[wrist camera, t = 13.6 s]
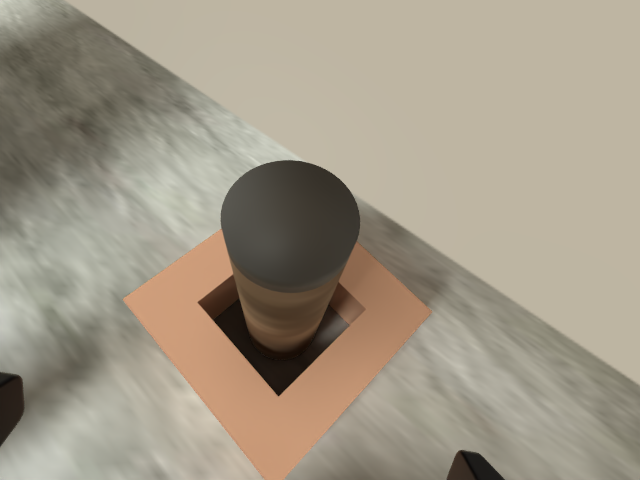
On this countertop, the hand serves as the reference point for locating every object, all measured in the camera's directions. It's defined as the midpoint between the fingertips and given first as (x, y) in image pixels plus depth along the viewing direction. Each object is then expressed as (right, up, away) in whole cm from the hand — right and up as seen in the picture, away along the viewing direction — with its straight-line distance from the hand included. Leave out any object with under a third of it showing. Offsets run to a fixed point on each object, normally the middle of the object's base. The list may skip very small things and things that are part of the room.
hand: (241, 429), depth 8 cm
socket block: (-1, -1, +15) cm, 15 cm away
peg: (-1, -1, +15) cm, 15 cm away
